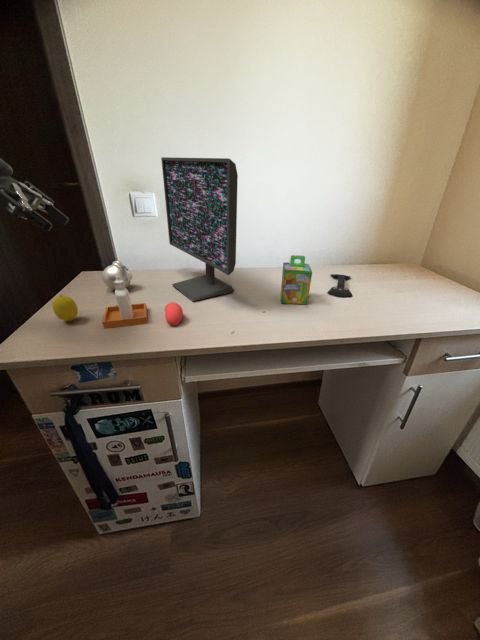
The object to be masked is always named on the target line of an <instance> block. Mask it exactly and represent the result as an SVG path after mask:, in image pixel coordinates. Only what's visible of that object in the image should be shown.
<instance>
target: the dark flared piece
mask: <svg viewBox="0 0 480 640" xmlns="http://www.w3.org/2000/svg"><path fill="white" fill-rule="evenodd" d="M329 276H330V277H331V278H332V279H333V280H336V281H337V283H336V285H335V286H332V287H331V288H330V289H329V290H327V294H328V295H330V296H332V297H336V298H351V297H353V294H352V292H351V290H350V288H348V287H345V284H346V281H349V279H350V278H351V276H350V275H346V274H341V273H333V274H329Z"/></svg>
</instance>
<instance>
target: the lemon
mask: <svg viewBox="0 0 480 640" xmlns="http://www.w3.org/2000/svg"><path fill="white" fill-rule="evenodd" d="M51 305H52V310H53V313H54V315H55V316H56V317H57V318H59V319H60V320H63V321H67V322H73V320H74V319H75V318H76V317H77V316H78V314H79V308H78V305H77V303H76V301H75V300H74V299H73V298H72V297H70V296H68V295H65V294H58V295H57V296H56V297H55V298H53V301H52V303H51Z"/></svg>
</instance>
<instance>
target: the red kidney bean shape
mask: <svg viewBox="0 0 480 640" xmlns="http://www.w3.org/2000/svg"><path fill="white" fill-rule="evenodd" d="M183 315H184V312H183V308H182V306H181V305H180V304H179V303H178V302H174V301H173V302H168V303H166V305H165V307H164V317H165V321H166V322H167V324H168V325H170V326H176V325H178V324H179V323H180V322H181V321H182V320H183Z"/></svg>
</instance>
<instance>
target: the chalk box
mask: <svg viewBox="0 0 480 640" xmlns="http://www.w3.org/2000/svg"><path fill="white" fill-rule="evenodd" d="M295 260H300V262H296V261H295ZM305 262H306V256H305V255H296V254H295V255H290V261H289V262H282V264H283V265H282V275H281V285H280V303H281V304H289V305H290V304H291V305H305V306H306V305H308V302H309V295H310V290H311V289H310V288H311V283H312V277H313V270H312V269H311V266H310V264H309V263H305Z"/></svg>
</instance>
